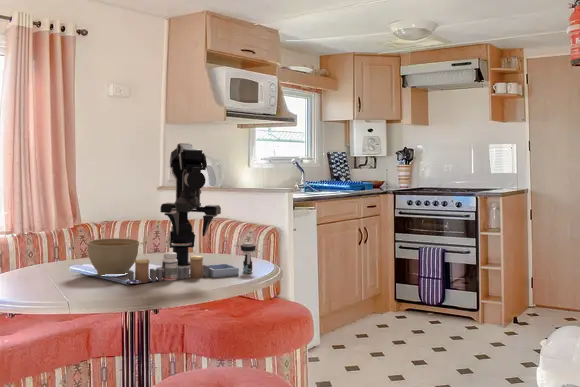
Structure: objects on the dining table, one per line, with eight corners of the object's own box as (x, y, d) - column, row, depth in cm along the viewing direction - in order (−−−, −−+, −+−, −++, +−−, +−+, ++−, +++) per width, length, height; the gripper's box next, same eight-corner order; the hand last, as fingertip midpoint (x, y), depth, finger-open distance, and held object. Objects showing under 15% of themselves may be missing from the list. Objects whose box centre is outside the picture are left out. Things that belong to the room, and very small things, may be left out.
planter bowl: (75, 276, 182) (75, 242, 181) (109, 268, 197) (110, 237, 196) (116, 281, 176) (117, 246, 175) (148, 273, 191) (149, 240, 190)
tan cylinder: (187, 276, 187) (188, 256, 187) (199, 275, 190) (200, 255, 189) (192, 278, 184) (193, 258, 184) (204, 277, 186) (205, 257, 186)
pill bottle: (163, 277, 184) (163, 251, 184) (178, 277, 185) (178, 251, 184) (161, 280, 179) (161, 254, 179) (176, 280, 180) (176, 254, 179)
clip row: (127, 281, 176) (127, 270, 176) (205, 275, 190) (205, 264, 190) (130, 283, 174) (130, 272, 174) (209, 276, 188) (209, 266, 187)
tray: (201, 272, 194) (201, 265, 194) (226, 270, 199) (226, 263, 199) (213, 277, 186) (213, 270, 186) (238, 275, 191) (238, 267, 191)
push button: (257, 274, 194) (258, 244, 194) (241, 274, 193) (242, 244, 192) (253, 270, 201) (254, 241, 200) (238, 270, 199) (239, 242, 199)
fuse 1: (133, 280, 178) (133, 259, 177) (146, 279, 180) (146, 258, 180) (137, 283, 174) (137, 261, 174) (150, 282, 177) (150, 260, 176)
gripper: (153, 187, 179) (152, 237, 180) (211, 190, 176) (210, 240, 177) (167, 185, 190) (166, 232, 191) (221, 188, 187) (220, 235, 188)
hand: (190, 235), depth 186 cm, fingers open, 9 cm apart
